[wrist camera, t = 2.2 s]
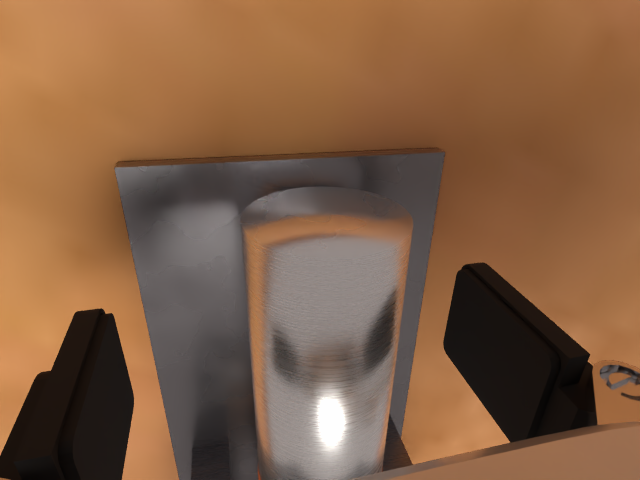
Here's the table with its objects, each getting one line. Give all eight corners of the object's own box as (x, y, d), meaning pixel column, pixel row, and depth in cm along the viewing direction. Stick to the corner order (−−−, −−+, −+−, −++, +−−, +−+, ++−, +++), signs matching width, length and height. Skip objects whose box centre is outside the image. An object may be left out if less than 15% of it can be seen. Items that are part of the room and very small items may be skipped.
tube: (218, 199, 14) (276, 276, 10) (357, 178, 16) (453, 235, 12) (250, 529, 22) (289, 647, 18) (339, 488, 24) (391, 584, 20)
